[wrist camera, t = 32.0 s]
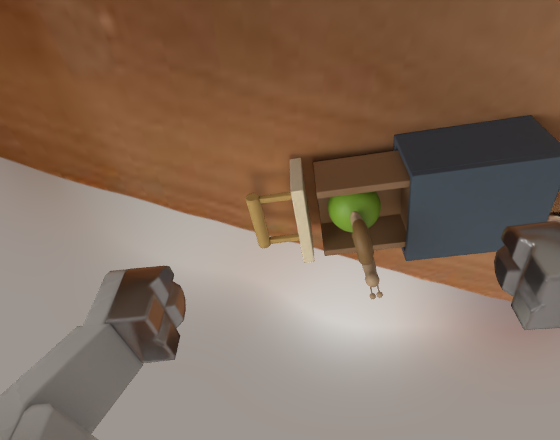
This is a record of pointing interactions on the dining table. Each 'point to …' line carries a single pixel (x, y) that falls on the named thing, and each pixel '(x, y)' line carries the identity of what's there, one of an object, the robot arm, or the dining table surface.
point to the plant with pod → (553, 218)
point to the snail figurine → (359, 227)
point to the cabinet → (476, 184)
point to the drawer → (337, 182)
